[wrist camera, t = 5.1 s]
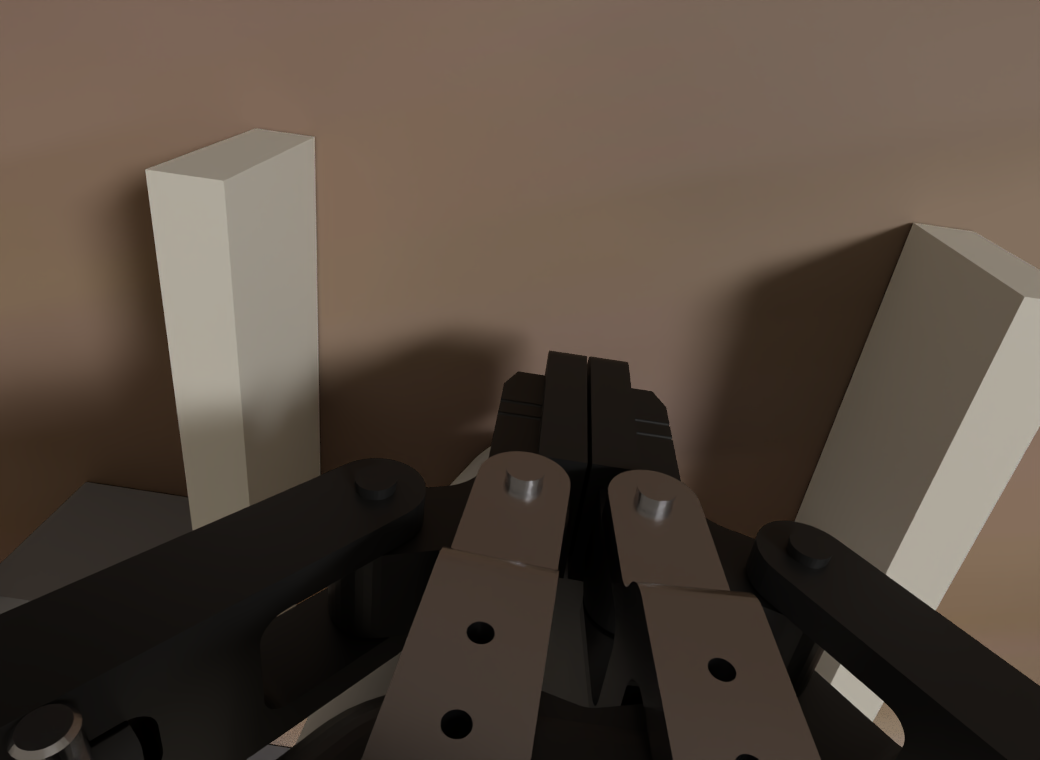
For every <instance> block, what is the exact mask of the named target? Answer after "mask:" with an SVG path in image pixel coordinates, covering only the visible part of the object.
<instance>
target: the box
mask: <svg viewBox="0 0 1040 760" xmlns="http://www.w3.org/2000/svg"><path fill="white" fill-rule="evenodd" d="M145 171H146V179H147V186H148V194H149V202H150V209H151V217H152V225H153V232H154V240H155V248H156V255H157V263H158V270H159V278H160V286H161V293H162V301H163V309H164V316H165V324H166V331H167V339H168V347H169V354H170V362H171V370H172V377H173V385H174V392H175V400H176V408H177V415H178V423H179V431H180V438H181V446H182V453H183V461H184V469H185V476H186V484H187V492H188V497H182V496H175V495H169V494H162V493H156V492H149V491H142V490H136V489H129V488H123V487H116V486H110V485H103V484H96V483H90V482H85V483H84V484H83V485H82V486H81V487H80V488H79V489H78V490H77V491H76V492H75V493H74V494H73V495H72V496H71V497H70V498H69V499H68V500H66V501H65V502H64V503H63V504H62V505H61V506H60V507H59V508H58V509H57V510H56V511H55V512H54V513H53V514H52V515H51V516H50V517H49V518H48V519H47V520H45V521H44V522H43V523H42V524H41V525H40V526H39V527H38V528H37V529H36V530H35V531H34V532H33V533H32V534H31V535H30V536H29V537H28V538H27V539H26V540H24V541H23V542H22V543H21V544H20V545H19V546H18V547H17V548H16V549H15V550H14V551H13V552H12V553H11V554H10V555H9V556H8V557H7V558H6V559H5V560H4V561H2V562H1V563H0V614H2V613H4V612H6V611H9V610H11V609H13V608H16V607H18V606H20V605H22V604H25V603H27V602H29V601H32V600H34V599H36V598H39V597H41V596H43V595H46V594H48V593H50V592H52V591H55V590H57V589H59V588H62V587H64V586H66V585H69V584H71V583H73V582H76V581H78V580H80V579H82V578H85V577H87V576H89V575H92V574H94V573H96V572H99V571H101V570H103V569H105V568H108V567H110V566H112V565H115V564H117V563H119V562H122V561H124V560H126V559H129V558H131V557H133V556H135V555H138V554H140V553H142V552H145V551H147V550H149V549H152V548H154V547H156V546H159V545H161V544H163V543H165V542H168V541H170V540H172V539H175V538H177V537H179V536H182V535H184V534H186V533H189V532H191V531H193V530H195V529H198V528H200V527H202V526H205V525H207V524H209V523H212V522H214V521H216V520H219V519H221V518H223V517H225V516H228V515H230V514H232V513H235V512H237V511H239V510H242V509H244V508H246V507H249V506H251V505H253V504H255V503H258V502H260V501H262V500H265V499H267V498H269V497H272V496H274V495H276V494H279V493H281V492H283V491H285V490H288V489H290V488H292V487H295V486H297V485H299V484H302V483H304V482H306V481H309V480H311V479H313V478H315V477H318V476H320V419H319V360H318V302H317V244H316V186H315V137H313V136H306V135H299V134H292V133H285V132H278V131H271V130H264V129H257V128H255V129H252V130H250V131H247V132H244V133H242V134H239V135H236V136H234V137H231V138H228V139H226V140H223V141H220V142H218V143H215V144H212V145H210V146H207V147H204V148H202V149H199V150H196V151H193V152H191V153H188V154H185V155H183V156H180V157H177V158H175V159H172V160H169V161H167V162H164V163H161V164H159V165H156V166H153V167H151V168H148V169H145ZM1039 427H1040V270H1039V269H1038V268H1036V267H1034V266H1032V265H1031V264H1029V263H1027V262H1026V261H1024V260H1022V259H1020V258H1019V257H1017V256H1015V255H1014V254H1012V253H1010V252H1008V251H1007V250H1005V249H1003V248H1002V247H1000V246H998V245H996V244H995V243H993V242H991V241H990V240H988V239H986V238H985V237H983V236H981V235H979V234H978V233H976V232H974V231H968V230H961V229H954V228H947V227H940V226H933V225H926V224H919V223H913V225H912V227H911V230H910V232H909V235H908V237H907V240H906V242H905V245H904V247H903V250H902V252H901V255H900V257H899V260H898V263H897V265H896V268H895V270H894V273H893V275H892V278H891V280H890V283H889V285H888V288H887V290H886V293H885V295H884V298H883V300H882V303H881V305H880V308H879V310H878V313H877V315H876V318H875V320H874V323H873V325H872V328H871V330H870V333H869V335H868V338H867V340H866V343H865V345H864V348H863V350H862V353H861V356H860V358H859V361H858V363H857V366H856V368H855V371H854V373H853V376H852V378H851V381H850V383H849V386H848V388H847V391H846V393H845V396H844V398H843V401H842V403H841V406H840V408H839V411H838V413H837V416H836V418H835V421H834V423H833V426H832V428H831V431H830V433H829V436H828V438H827V441H826V443H825V446H824V448H823V451H822V454H821V456H820V459H819V461H818V464H817V466H816V469H815V471H814V474H813V476H812V479H811V481H810V484H809V486H808V489H807V491H806V494H805V496H804V499H803V501H802V504H801V506H800V509H799V511H798V514H797V516H796V519H795V521H794V522H799V523H804V524H807V525H810V526H813V527H815V528H818V529H820V530H822V531H824V532H826V533H828V534H830V535H831V536H833V537H834V538H836V539H837V540H839V541H840V542H841V543H843V544H844V545H846V546H847V547H848V548H850V549H851V550H852V551H854V552H855V553H857V554H858V555H859V556H861V557H862V558H863V559H865V560H866V561H868V562H869V563H870V564H872V565H873V566H875V567H876V568H877V569H879V570H880V571H881V572H883V573H884V574H886V575H887V576H888V577H890V578H891V579H893V580H894V581H895V582H897V583H898V584H899V585H901V586H902V587H904V588H905V589H906V590H908V591H909V592H910V593H912V594H913V595H915V596H916V597H917V598H919V599H920V600H922V601H923V602H924V603H926V604H927V605H928V606H930V607H931V608H933V609H934V610H936V609H937V607H938V605H939V603H940V602H941V600H942V598H943V596H944V594H945V593H946V591H947V589H948V587H949V586H950V584H951V582H952V580H953V579H954V577H955V575H956V573H957V571H958V570H959V568H960V566H961V564H962V563H963V561H964V559H965V557H966V556H967V554H968V552H969V550H970V549H971V547H972V545H973V543H974V541H975V540H976V538H977V536H978V534H979V533H980V531H981V529H982V527H983V526H984V524H985V522H986V520H987V518H988V517H989V515H990V513H991V511H992V510H993V508H994V506H995V504H996V503H997V501H998V499H999V497H1000V495H1001V494H1002V492H1003V490H1004V488H1005V487H1006V485H1007V483H1008V481H1009V480H1010V478H1011V476H1012V474H1013V473H1014V471H1015V469H1016V467H1017V465H1018V464H1019V462H1020V460H1021V458H1022V457H1023V455H1024V453H1025V451H1026V450H1027V448H1028V446H1029V444H1030V442H1031V441H1032V439H1033V437H1034V435H1035V434H1036V432H1037V430H1038V428H1039ZM295 606H296V604H295V605H293V606H292V607H290V608H288V609H286V610H285V611H283V612H282V613H284V612H286V611H288V610H289V609H291V608H293V607H295ZM282 613H280V614H279V615H281V614H282ZM279 615H278V616H279ZM815 671H816V672H817V673H818V674H820V675H821V676H822V677H823V678H824V679H825V680H826V681H827V682H829V683H830V684H831V685H832V686H833V687H834V688H835V689H836V690H837V691H839V692H840V693H841V694H842V695H843V696H844V697H845V698H846V699H847V700H849V701H850V702H851V703H852V704H853V705H854V706H855V707H856V708H857V709H859V710H860V711H861V712H862V713H863V714H864V715H865V716H866V717H868V718H869V719H870V720H871V721H872V722H873V720H874V718H875V716H876V715H877V713H878V711H879V709H880V708H881V706H882V704H883V702H884V701H883V700H881V699H880V698H879V697H878V696H877V695H876V694H874V693H873V692H872V691H871V690H870V689H869V688H868V687H866V686H865V685H864V684H863V683H862V682H861V681H859V680H858V679H857V678H856V677H855V676H854V675H852V674H851V673H850V672H849V671H848V670H847V669H846V668H844V667H843V666H842V665H841V664H840V663H839V662H837V661H836V660H835V659H834V658H833V657H832V656H830V655H829V654H828V653H827V652H826V651H825V650H824V652H823V654H822V656H821V658H820V660H819V662H818V664H817V666H816V668H815ZM289 749H290V748H286V747H280V746H273V745H267V746H265V747H264V748H262V749H261V750H260V751H258V752H257V753H255V754H254V755H252V756H251V757H249V758H248V759H247V760H276V759H277V758H279V757H280V756H281V755H283V754H284V753H285V752H286V751H288V750H289Z"/></svg>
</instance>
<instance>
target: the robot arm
mask: <svg viewBox="0 0 1040 760" xmlns="http://www.w3.org/2000/svg"><path fill="white" fill-rule="evenodd" d="M671 439H672V435H671V430H670V427H669V420H668V415H667V410H666V407H665V406H664V404H663V403H662V402H661V401H660V400H659V399H658V398H657V396H656V395H655V394H654V393H653V392H652V391H646V390H640V389H633V388H631V382H630V373H629V365H628V362H623V361H617V360H610V359H603V358H596V357H589V360H588V363H587V356H582V355H575V354H569V353H562V352H555V351H549V353H548V359H547V365H546V371H545V375H538V374H531V373H524V372H517V373H516V374H515V375H513V376H512V377H511V378H510V379H509V380H507V381H506V382H505V383H504V387H503V391H502V396H501V402H500V406H499V410H498V415H497V420H496V425H495V430H494V434H493V439H492V444H491V449H490V453H489V458H488V459H487V460H486V461H484V462H483V464H482V465H481V466H480V468H479V470H478V473H477V476H475V477H474V478H472V479H470V480H468V481H466V482H463V483H460V484H456V485H451V486H442V487H427V488H426V487H425V482H424V480H423V478H422V477H421V475H420V474H419V473H418V472H417V471H416V470H415V469H413V468H412V467H410V466H408V465H406V464H404V463H401V462H398V461H395V460H390V459H381V458H370V459H362V460H358V461H354V462H351V463H348V464H345V465H343V466H341V467H339V468H336V469H334V470H332V471H329V472H327V473H325V474H322V475H320V476H318V477H315V478H313V479H311V480H309V481H306V482H304V483H302V484H299V485H297V486H295V487H292V488H290V489H288V490H285V491H283V492H281V493H279V494H276V495H274V496H272V497H269V498H267V499H265V500H262V501H260V502H258V503H255V504H253V505H251V506H249V507H246V508H244V509H242V510H239V511H237V512H235V513H232V514H230V515H228V516H225V517H223V518H221V519H219V520H216V521H214V522H212V523H209V524H207V525H205V526H202V527H200V528H198V529H195V530H193V531H191V532H189V533H186V534H184V535H182V536H179V537H177V538H175V539H172V540H170V541H168V542H165V543H163V544H161V545H159V546H156V547H154V548H152V549H149V550H147V551H145V552H142V553H140V554H138V555H135V556H133V557H131V558H129V559H126V560H124V561H122V562H119V563H117V564H115V565H112V566H110V567H108V568H105V569H103V570H101V571H99V572H96V573H94V574H92V575H89V576H87V577H85V578H82V579H80V580H78V581H76V582H73V583H71V584H69V585H66V586H64V587H62V588H59V589H57V590H55V591H52V592H50V593H48V594H46V595H43V596H41V597H39V598H36V599H34V600H32V601H29V602H27V603H25V604H22V605H20V606H18V607H16V608H13V609H11V610H9V611H6V612H4V613H2V614H0V760H247V759H248V758H249V757H251V756H252V755H254V754H255V753H257V752H258V751H260V750H261V749H262V748H264V747H265V746H267V745H268V744H270V743H271V742H272V741H274V740H275V739H277V738H278V737H280V736H281V735H283V734H284V733H285V732H287V731H288V730H290V729H291V728H293V727H294V726H295V725H297V724H298V723H300V722H301V721H303V720H304V719H306V718H307V717H308V716H310V715H311V714H313V713H314V712H316V711H317V710H319V709H320V708H321V707H323V706H324V705H326V704H327V703H329V702H330V701H331V700H333V699H334V698H336V697H337V696H339V695H340V694H342V693H343V692H344V691H346V690H347V689H349V688H350V687H352V686H353V685H355V684H356V683H357V682H359V681H360V680H362V679H363V678H365V677H366V676H367V675H369V674H370V673H372V672H373V671H375V670H376V669H378V668H379V667H380V666H382V665H383V664H385V663H386V662H388V661H389V660H390V659H392V658H393V657H395V656H396V655H398V654H399V653H400V652H402V653H401V655H400V658H399V661H398V663H397V666H396V669H395V671H394V674H393V677H392V679H391V682H390V685H389V687H388V690H387V693H386V695H383V696H380V697H377V698H374V699H371V700H368V701H365V702H362V703H360V704H358V705H356V706H354V707H351V708H349V709H347V710H345V711H343V712H342V713H340V714H338V715H337V716H335V717H333V718H331V719H330V720H328V721H327V722H325V723H324V724H322V725H321V726H320V727H318V728H317V729H315V730H314V731H313V732H311V733H310V734H309V735H307V736H306V737H305V738H304V739H302V740H301V741H300V742H298V743H297V744H296V745H294V746H293V747H292V748H290V749H289V750H288V751H286V752H285V753H284V754H283V755H281V756H280V757H279V758H277V759H276V760H1040V686H1039V685H1038V684H1036V683H1035V682H1034V681H1032V680H1031V679H1029V678H1028V677H1027V676H1025V675H1024V674H1022V673H1021V672H1020V671H1018V670H1017V669H1016V668H1014V667H1013V666H1011V665H1010V664H1009V663H1007V662H1006V661H1004V660H1003V659H1002V658H1000V657H999V656H998V655H996V654H995V653H993V652H992V651H991V650H989V649H988V648H987V647H985V646H984V645H982V644H981V643H980V642H978V641H977V640H975V639H974V638H973V637H971V636H970V635H969V634H967V633H966V632H964V631H963V630H962V629H960V628H959V627H957V626H956V625H955V624H953V623H952V622H951V621H949V620H948V619H946V618H945V617H944V616H942V615H941V614H940V613H938V612H937V611H935V610H934V609H933V608H931V607H930V606H928V605H927V604H926V603H924V602H923V601H922V600H920V599H919V598H917V597H916V596H915V595H913V594H912V593H910V592H909V591H908V590H906V589H905V588H904V587H902V586H901V585H899V584H898V583H897V582H895V581H894V580H893V579H891V578H890V577H888V576H887V575H886V574H884V573H883V572H881V571H880V570H879V569H877V568H876V567H875V566H873V565H872V564H870V563H869V562H868V561H866V560H865V559H863V558H862V557H861V556H859V555H858V554H857V553H855V552H854V551H852V550H851V549H850V548H848V547H847V546H846V545H844V544H843V543H841V542H840V541H839V540H837V539H836V538H834V537H833V536H831V535H830V534H828V533H826V532H824V531H822V530H820V529H818V528H815V527H813V526H810V525H807V524H804V523H799V522H794V521H775V522H771V523H768V524H766V525H764V526H763V527H762V528H761V529H760V530H759V532H758V534H757V536H756V539H753V538H751V537H748V536H745V535H742V534H740V533H737V532H734V531H732V530H729V529H726V528H724V527H722V526H719V525H717V524H715V523H713V522H712V521H710V520H708V519H707V518H705V515H704V512H703V509H702V507H701V504H700V501H699V499H698V497H697V496H696V494H695V493H694V492H693V491H692V490H691V489H690V488H689V487H688V486H686V485H685V484H684V483H682V482H681V480H680V475H679V470H678V465H677V460H676V455H675V450H674V445H673V440H671ZM567 559H568V579H572V580H577V581H583V599H582V603H581V608H580V625H581V635H582V644H583V654H584V664H585V674H586V683H587V693H588V703H589V708H588V707H583V706H580V705H577V704H575V703H572V702H569V701H567V700H564V699H562V698H559V697H557V696H554V695H552V694H549V693H547V692H544V691H541V689H542V683H543V676H544V669H545V663H546V656H547V650H548V643H549V636H550V630H551V623H552V616H553V610H554V603H555V597H556V590H557V583H558V578H564V573H565V569H566V564H567ZM327 586H328V588H327V589H325V590H323V591H321V592H320V593H318V594H316V595H314V596H313V597H311V598H309V599H307V600H305V601H304V602H302V603H300V604H298V605H297V606H295V607H293V608H291V609H289V610H288V611H286V612H284V613H282V612H283V611H285V610H286V609H288V608H290V607H292V606H293V605H295V604H297V603H299V602H301V601H302V600H304V599H306V598H308V597H309V596H311V595H313V594H315V593H317V592H318V591H320V590H322V589H324V588H325V587H327ZM280 613H282V614H281V615H279V614H280ZM278 615H279V616H278ZM824 650H825V651H826V652H827V653H828V654H829V655H830V656H832V657H833V658H834V659H835V660H836V661H837V662H839V663H840V664H841V665H842V666H843V667H844V668H846V669H847V670H848V671H849V672H850V673H851V674H852V675H854V676H855V677H856V678H857V679H858V680H859V681H861V682H862V683H863V684H864V685H865V686H866V687H868V688H869V689H870V690H871V691H872V692H873V693H874V694H876V695H877V696H878V697H879V698H880V699H881V700H883V701H884V702H885V703H886V704H887V705H888V706H889V707H890V708H891V709H892V710H893V711H894V713H895V714H896V715H897V717H898V719H899V720H900V722H901V724H902V727H903V730H904V735H905V741H904V745H903V747H901V746H899V745H898V744H897V743H896V742H894V741H893V740H892V739H891V738H890V737H889V736H888V735H886V734H885V733H884V732H883V731H882V730H881V729H880V728H879V727H878V726H876V725H875V724H874V723H873V722H872V721H871V720H870V719H869V718H868V717H866V716H865V715H864V714H863V713H862V712H861V711H860V710H859V709H857V708H856V707H855V706H854V705H853V704H852V703H851V702H850V701H849V700H847V699H846V698H845V697H844V696H843V695H842V694H841V693H840V692H839V691H837V690H836V689H835V688H834V687H833V686H832V685H831V684H830V683H829V682H827V681H826V680H825V679H824V678H823V677H822V676H821V675H820V674H818V673H817V672H816V671H815V668H816V666H817V664H818V662H819V660H820V658H821V656H822V654H823V652H824Z"/></svg>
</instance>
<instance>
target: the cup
mask: <svg viewBox="0 0 1040 760" xmlns="http://www.w3.org/2000/svg"><path fill="white" fill-rule="evenodd" d="M490 449H491V446H490V447H489V448H487V449H486V450H484V451H483V452H482V453H481V454H479V455H478V456H477V457H476V458H475V459H474V460H473V461H472V462H471V463H470V464H469V465H468V466H467V467H466V469H465V470H464V471H463V472H462V473H461V474H460V475H459V476H458V477H457V478H456V479H455V480H454V481H453V482H452V483H451V484H450V486H451V485H456V484H460V483H463V482H466V481H468V480H470V479H472V478H474V477H475V476H477V473H478V470H479V468H480V466H481V465H482V464H483V462H484V461H486V460H487V459H488V458H489V453H490ZM582 599H583V581H577V580H572V579H568V559H567V564H566V569H565V573H564V578H558V583H557V590H556V597H555V603H554V610H553V616H552V623H551V630H550V636H549V643H548V650H547V656H546V663H545V669H544V676H543V683H542V689H541V691H544V692H547V693H549V694H552V695H554V696H557V697H559V698H562V699H564V700H567V701H569V702H572V703H575V704H577V705H580V706H583V707H588V708H589V703H588V693H587V683H586V674H585V664H584V654H583V644H582V635H581V625H580V608H581V603H582ZM401 653H402V652H400V653H399V654H398V655H396V656H395V657H393V658H392V659H390V660H389V661H388V662H386V663H385V664H383V665H382V666H380V667H379V668H378V669H376V670H375V671H373V672H372V673H370V674H369V675H367V676H366V677H365V678H363V679H362V680H360V681H359V682H357V683H356V684H355V685H353V686H352V687H350V688H349V689H347V690H346V691H344V692H343V693H342V694H340V695H339V696H337V697H336V698H334V699H333V700H331V701H330V702H329V703H327V704H326V705H324V706H323V707H321V708H320V709H319V710H317V711H316V712H314V713H313V714H311V715H310V716H309V717H308V719H307V721H306V723H305V725H304V727H303V730H302V732H301V734H300V736H299V738H298V740H297V743H298V742H300V741H301V740H302V739H304V738H305V737H306V736H307V735H309V734H310V733H311V732H313V731H314V730H315V729H317V728H318V727H320V726H321V725H322V724H324V723H325V722H327V721H328V720H330V719H331V718H333V717H335V716H337V715H338V714H340V713H342V712H343V711H345V710H347V709H349V708H351V707H354V706H356V705H358V704H360V703H362V702H365V701H368V700H371V699H374V698H377V697H380V696H383V695H386V693H387V690H388V687H389V685H390V682H391V679H392V677H393V674H394V671H395V669H396V666H397V663H398V661H399V658H400V655H401ZM297 743H296V744H297Z"/></svg>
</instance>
